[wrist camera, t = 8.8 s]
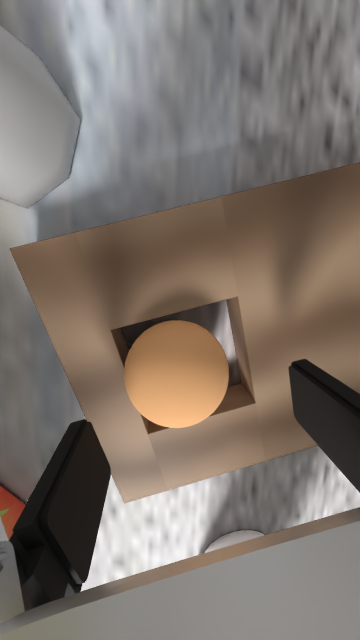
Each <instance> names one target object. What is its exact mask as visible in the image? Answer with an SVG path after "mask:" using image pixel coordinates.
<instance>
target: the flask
mask: <svg viewBox="0 0 360 640" xmlns="http://www.w3.org/2000/svg"><path fill="white" fill-rule="evenodd" d="M80 121H81V120H80V119H79V117H78V116H77V114H76V112H75V111H74V109H73V108H72V106H71V105H70V103H69V102H68V100H67V98H66V97H65V95H64V94H63V92H62V91H61V89H60V88H59V86H58V85H57V83H56V81H55V80H54V78H53V77H52V75H51V74H50V72H49V71H48V69H47V67H46V66H45V64H44V63H43V61H42V60H41V58H39V57H38V56H37V55H36V54H35V53H34V52H32V51H31V50H30V49H29V48H28V47H27V46H25V45H24V44H23V43H22V42H20V41H19V40H18V39H17V38H15V37H14V36H13V35H12V34H10V33H9V32H8V31H7V30H6V29H4V28H3V27H2V26H1V25H0V199H3V200H6V201H9V202H11V203H14V204H17V205H19V206H22V207H25V208H27V209H28V208H29V207H30V206H32V205H33V204H35V203H36V202H37V201H39V200H40V199H41V198H43V197H44V196H45V195H47V194H48V193H49V192H51V191H52V190H53V189H55V188H56V187H57V186H59V185H60V184H61V183H63V182H64V181H65V180H67V179H68V178H69V173H70V169H71V164H72V159H73V155H74V150H75V145H76V140H77V136H78V131H79V126H80Z"/></svg>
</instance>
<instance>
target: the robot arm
mask: <svg viewBox="0 0 360 640" xmlns="http://www.w3.org/2000/svg"><path fill="white" fill-rule="evenodd" d="M288 370H289V378H290V387H291V396H292V404H293V413H294V416H295V419H296V420H297V422H298V423H299V424H300V425H301V426H302V428H303V429H304V430H305V431H306V432H307V433H308V434H309V435H310V437H311V438H312V439H313V440H314V441H315V442H316V443H317V445H318V446H319V447H320V448H321V449H322V450H323V451H324V453H325V454H326V455H327V456H328V457H329V458H330V459H331V460H332V462H333V463H334V464H335V465H336V466H337V467H338V468H339V470H340V471H341V472H342V473H343V474H344V475H345V476H346V478H347V479H348V480H349V481H350V482H351V483H352V484H353V485H354V487H355V488H356V489H357V490H358V491H359V492H360V394H359V393H358V392H356V391H355V390H353V389H352V388H350V387H348V386H347V385H345V384H344V383H342V382H341V381H339V380H338V379H336V378H335V377H333V376H331V375H330V374H328V373H327V372H325V371H324V370H322V369H321V368H319V367H317V366H316V365H314V364H313V363H311V362H310V361H308V360H307V359H301V360H297V361H294V362H292V363H291V366H289V368H288ZM110 476H111V468H110V464H109V462H108V460H107V458H106V455H105V453H104V451H103V448H102V446H101V444H100V442H99V439H98V437H97V435H96V432H95V430H94V428H93V425H92V423H91V422H87V420H85V419H83V420H80V421H76V422H73V423H71V424H70V425H69V427H68V429H67V431H66V433H65V434H64V436H63V438H62V440H61V442H60V443H59V445H58V447H57V449H56V451H55V453H54V454H53V456H52V458H51V460H50V462H49V464H48V465H47V467H46V469H45V471H44V473H43V474H42V476H41V478H40V480H39V482H38V484H37V485H36V487H35V489H34V491H33V493H32V495H31V496H30V498H29V500H28V502H27V504H26V506H25V507H24V509H23V511H22V513H21V515H20V516H19V518H18V520H17V522H16V524H15V526H14V527H13V529H12V531H13V534H12V536H11V537H10V539H9V541H1V542H0V640H360V508H356V509H352V510H349V511H345V512H342V513H338V514H335V515H332V516H328V517H325V518H321V519H318V520H315V521H311V522H308V523H304V524H301V525H298V526H294V527H291V528H287V529H284V530H281V531H277V532H274V533H270V534H267V535H264V536H260V537H257V538H254V539H250V540H247V541H244V542H240V543H237V544H234V545H230V546H227V547H224V548H220V549H217V550H214V551H211V552H207V553H204V554H201V555H197V556H194V557H191V558H187V559H184V560H181V561H178V562H174V563H171V564H168V565H165V566H161V567H158V568H155V569H152V570H148V571H145V572H142V573H139V574H135V575H132V576H129V577H126V578H122V579H119V580H116V581H113V582H109V583H106V584H103V585H100V586H97V587H94V588H91V589H88V590H85V591H82V592H80V591H81V587H82V583H84V582H85V581H86V580H87V577H88V574H89V569H90V565H91V560H92V556H93V552H94V547H95V543H96V538H97V534H98V529H99V525H100V520H101V516H102V511H103V507H104V502H105V498H106V494H107V489H108V485H109V480H110Z"/></svg>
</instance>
